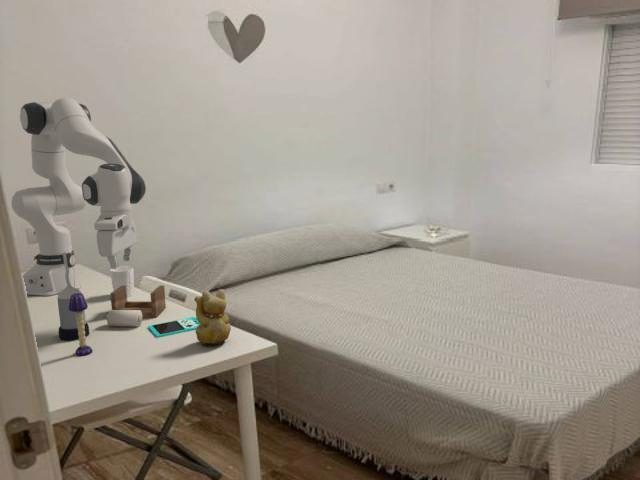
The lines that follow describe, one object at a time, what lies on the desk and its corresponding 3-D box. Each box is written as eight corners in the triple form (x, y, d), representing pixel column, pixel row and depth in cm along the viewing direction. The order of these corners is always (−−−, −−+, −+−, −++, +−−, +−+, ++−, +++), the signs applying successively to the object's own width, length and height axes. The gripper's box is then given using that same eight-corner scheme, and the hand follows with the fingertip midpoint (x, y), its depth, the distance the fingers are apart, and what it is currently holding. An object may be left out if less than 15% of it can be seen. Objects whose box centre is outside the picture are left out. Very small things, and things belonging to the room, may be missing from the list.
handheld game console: (210, 328, 168) (209, 324, 167) (157, 339, 159) (156, 335, 159) (198, 319, 176) (198, 315, 176) (147, 329, 168) (147, 325, 167)
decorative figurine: (226, 334, 161) (224, 285, 158) (236, 344, 154) (233, 292, 151) (193, 341, 156) (190, 290, 153) (202, 351, 149) (198, 298, 146)
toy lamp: (93, 354, 148) (87, 295, 145) (74, 358, 146) (68, 297, 142) (91, 348, 152) (85, 290, 149) (72, 352, 150) (66, 293, 147)
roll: (108, 329, 168) (104, 316, 166) (114, 319, 173) (111, 306, 170) (138, 329, 168) (135, 316, 165) (144, 319, 172) (141, 306, 170)
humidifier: (60, 333, 164) (50, 251, 159) (89, 329, 167) (81, 248, 162) (57, 342, 157) (47, 257, 152) (89, 338, 160) (80, 254, 155)
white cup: (120, 300, 195) (118, 272, 193) (108, 296, 200) (105, 269, 198) (140, 294, 201) (137, 268, 199) (127, 291, 206) (125, 265, 204)
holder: (112, 317, 177) (110, 293, 175) (123, 308, 186) (121, 285, 184) (156, 317, 176) (154, 293, 175) (165, 308, 185) (164, 285, 183)
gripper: (120, 213, 174) (124, 256, 177) (91, 225, 154) (96, 273, 157) (140, 213, 174) (144, 256, 176) (113, 225, 154) (117, 273, 156)
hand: (121, 264), depth 166 cm, fingers open, 8 cm apart
